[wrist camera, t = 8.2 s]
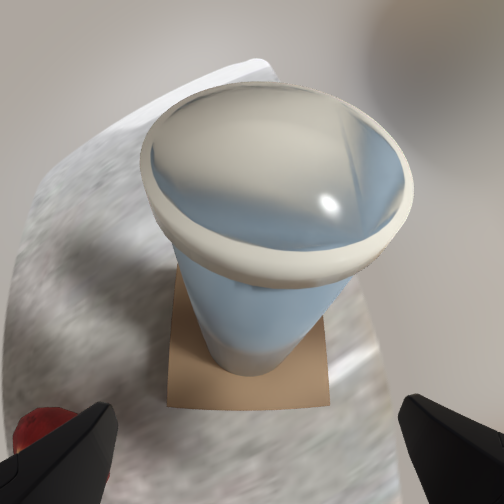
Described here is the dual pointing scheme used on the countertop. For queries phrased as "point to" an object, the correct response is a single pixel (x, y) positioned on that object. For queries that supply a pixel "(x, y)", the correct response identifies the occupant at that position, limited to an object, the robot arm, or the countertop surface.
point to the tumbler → (271, 209)
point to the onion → (39, 426)
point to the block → (234, 386)
